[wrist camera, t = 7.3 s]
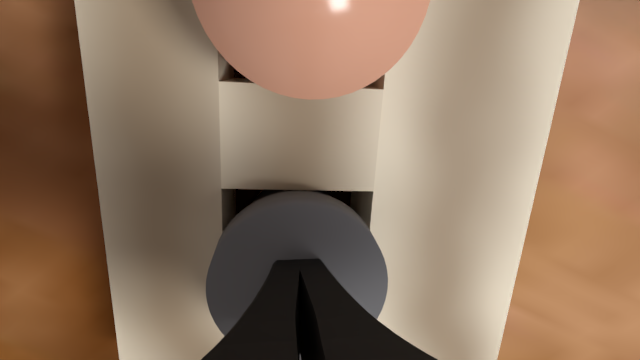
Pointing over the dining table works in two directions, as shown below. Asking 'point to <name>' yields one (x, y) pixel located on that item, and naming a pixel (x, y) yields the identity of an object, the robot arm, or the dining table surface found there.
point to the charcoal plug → (293, 251)
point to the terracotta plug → (312, 41)
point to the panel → (323, 163)
